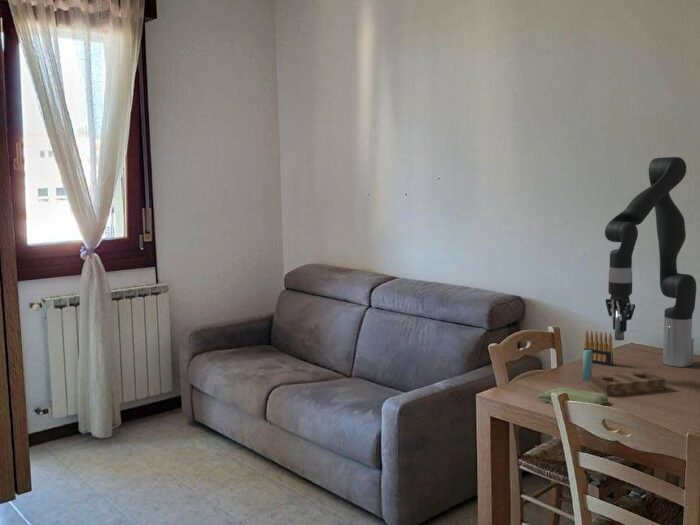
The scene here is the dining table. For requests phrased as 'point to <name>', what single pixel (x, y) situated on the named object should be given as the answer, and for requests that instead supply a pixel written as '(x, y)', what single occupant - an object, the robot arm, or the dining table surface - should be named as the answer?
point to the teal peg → (587, 364)
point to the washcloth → (577, 396)
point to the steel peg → (618, 334)
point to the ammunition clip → (599, 348)
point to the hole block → (626, 383)
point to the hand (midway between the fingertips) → (619, 330)
